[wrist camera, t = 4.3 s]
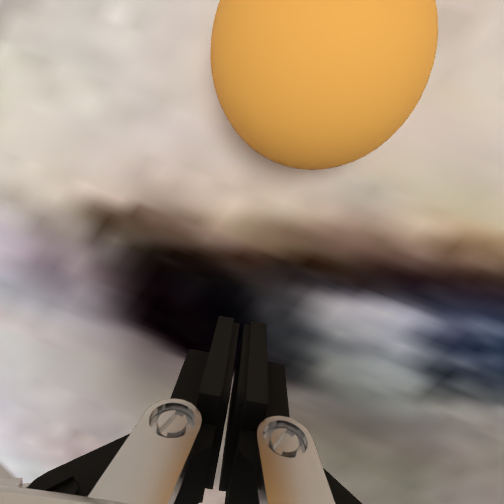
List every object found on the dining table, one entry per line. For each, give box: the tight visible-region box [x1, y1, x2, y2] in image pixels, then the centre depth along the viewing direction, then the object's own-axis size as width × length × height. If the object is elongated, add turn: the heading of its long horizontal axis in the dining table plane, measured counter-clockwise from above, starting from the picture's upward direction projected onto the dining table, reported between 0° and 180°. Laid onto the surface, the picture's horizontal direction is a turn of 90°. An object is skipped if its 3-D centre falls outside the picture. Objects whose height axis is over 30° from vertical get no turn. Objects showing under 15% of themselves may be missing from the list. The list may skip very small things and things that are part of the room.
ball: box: [211, 0, 438, 170], centre depth 9 cm, size 6×6×6 cm
